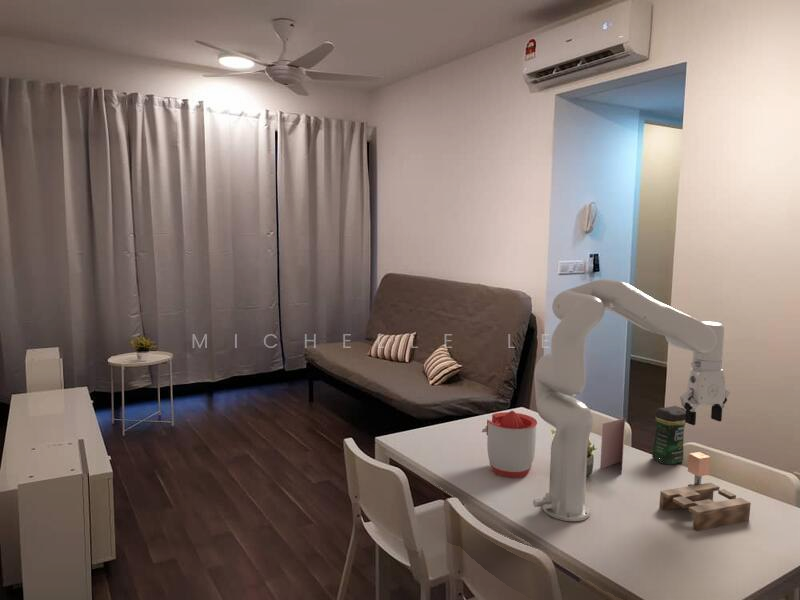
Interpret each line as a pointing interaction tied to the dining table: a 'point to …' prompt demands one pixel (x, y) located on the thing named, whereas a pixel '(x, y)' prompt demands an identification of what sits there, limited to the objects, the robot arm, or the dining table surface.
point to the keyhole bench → (706, 505)
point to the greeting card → (612, 443)
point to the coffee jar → (669, 435)
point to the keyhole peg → (698, 466)
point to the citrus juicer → (511, 443)
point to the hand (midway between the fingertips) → (703, 421)
